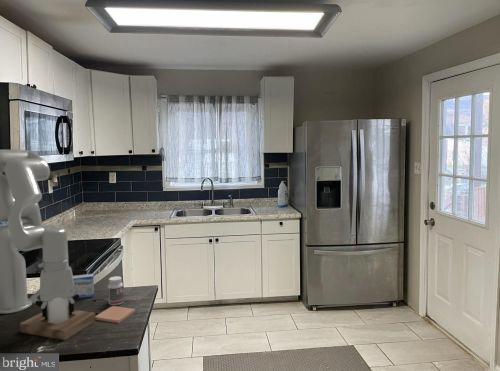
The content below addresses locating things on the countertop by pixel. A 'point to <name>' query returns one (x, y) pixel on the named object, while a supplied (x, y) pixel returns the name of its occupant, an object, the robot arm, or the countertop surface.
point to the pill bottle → (115, 291)
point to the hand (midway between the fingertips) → (58, 315)
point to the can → (58, 310)
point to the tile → (115, 314)
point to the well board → (62, 331)
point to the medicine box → (84, 285)
